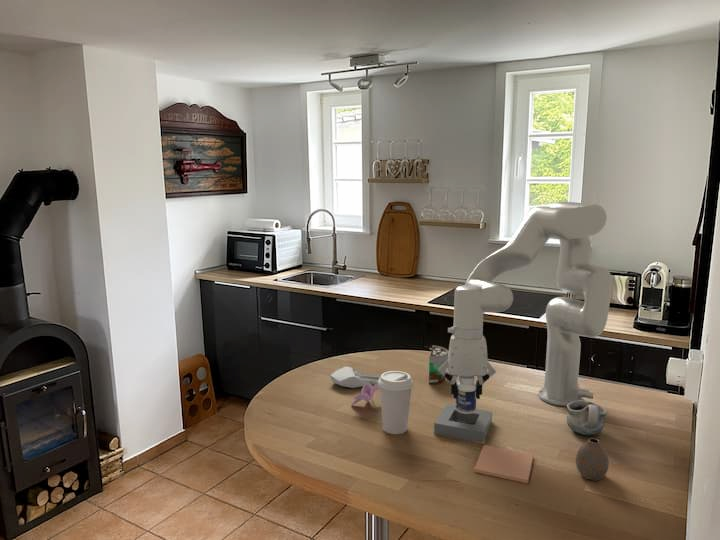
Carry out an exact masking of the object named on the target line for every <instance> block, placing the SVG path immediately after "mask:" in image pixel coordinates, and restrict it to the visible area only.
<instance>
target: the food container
mask: <svg viewBox="0 0 720 540" xmlns="http://www.w3.org/2000/svg"><path fill="white" fill-rule="evenodd" d="M448 351H449V350H448V349H447V348H445V347H443V346H439V345H431V352H430V356H429V357H428V359H429V360H428V365H429V366H428V385H431V386H432V385H439V384H440V385H441V384H443V383H445V380H446V378H445V376H443V375H442V374H441V373H440V372H439V367H440V366H441V365H442V364H443V363H444V362H445V361H446V360H447V359H448Z"/></svg>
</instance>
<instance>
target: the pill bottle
mask: <svg viewBox="0 0 720 540" xmlns="http://www.w3.org/2000/svg"><path fill="white" fill-rule="evenodd" d="M456 383H457V398H456V399H455V406H456V410H457V411H458V412H460V413H463V414H471V413H474V412H475V411H476V409H477V397H476V391H477V386H476V382H475V376H458V382H456Z"/></svg>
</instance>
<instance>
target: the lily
mask: <svg viewBox="0 0 720 540" xmlns="http://www.w3.org/2000/svg"><path fill="white" fill-rule="evenodd" d="M378 390H380V386H379V385H378V383H377V384H375V385H372V384H370V383H366V384H365V385H364V386H362V388H361V391H360V392H361V393H359V394H357V395H356V396H354V397H353V398H352V400H354V401H353V402H352V404H351V405H350V406H351V407H353V406H354V405H356V404H358V403H359V402H360V401H362V400H364V401H365V402H370V401H371V402H372V404H373V406H374V409H375V411H376V412H378V409H377V407H376V405H375V403H374V400H373V398H374V395H375V392H376V391H378Z"/></svg>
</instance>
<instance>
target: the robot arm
mask: <svg viewBox="0 0 720 540" xmlns="http://www.w3.org/2000/svg"><path fill="white" fill-rule="evenodd" d="M607 217H608V216H607V213H606V210H605V208H603V206H601V205H599V204H597V203H589V202H577V201H576V202H573V201H559V202H557V201H556V202H554V203H552V204H550V205H549V206H535V207H533V208H531V209H530V210H529V211H528V212H527V214H526V215H525V217H524V218H523V220H522V221H521V222H520V224H519V226H518V227H517V228H516V230H515V231H514V233H513V234H512V236H511V237H510V238H509V240H508V241H507V243H506V244H505V245H504V246H503V247H502V248H499V249H497V250H496V251H494V252H493V253H491V254H490V255H488V256H486V257H485V258H483V259H482V260H481V261H480V262H479V263H478V264H477V265H476V267H474V269H473V270H472V272H471V273H470V275H469V276H468V278H467V280H466V281H465V283H464V284H462V285H458V286H457V287H456V288H455V289H454V298H453V299H454V301H453V326H452V325H451V326H450V327H447V333H450V334H452V335H451V336H450V339H449V344H448V350H447V351H448V359H447V360H446V361H445V362H444V363H443V364H442V365H441V366H440V367H439V372H440V373H441V374H442V375H443V376H445V380H447V381H448V382H450V394H451V395H452V396H453V399H454V400H456V398H457V383H458V382H457V379H458V378H459V376H474V377H476V378H477V380H476V381H475V384H476V386H477V391H476V400H480V399H481V398H480V396H482V395H483V385H484V384H485V382H486V381H488V380H489V379H490V377H492V376H493V375H495V374H496V371H497V370H496V369H495V367H493V365H492V364H491V363H490V362H489V361H488V346H487V340H486V336H484V334H483V332H484V331H483V330H484V328H483V327H484V314H485V313H501V312H505V311H506V310H508V309H509V308H511V306H512V304H513V302H514V294H513V292H512V289H511V288H510V287H508V286H507V285H505V284H502V283H498V282H493V281H494V280H495V279H496V278H497V277H499V276H500V275H502V274H504V273H506V272H509V271H512V270H517V269H521V268H524V267H526V266H530V265H532V263H534V261H535V260H536V258H537V257H538V256H539V253H540V252H541V250H542V249H543V248H544V246H545V245H546V243H547V242H548V240H549V239H550V240H551V239H553V240H559V243H560V244H559V248H560V249H559V257H558V263H557V269H556V270H557V271H556V277H555V278H556V279H555V282H556V283H555V284H556V287H557V289H558V290H560V291H561V292H563V293H566V294H571V295H574V296H578V297H582V298H584V300H580V299H575V298H571V297H569V296H568V297H567V296H557V297H554V298H552V299H551V300H549V301H548V303H547V305H546V307H545V319H546V321H545V322H546V329H547V340H546V341H547V342H546V354H545V357H546V358H545V371H544V383H543V385H544V386H543V388H540V389H539V390H538V397H539V399H540V400H542V401H543V402H546V403H548V404H550V405H554V406H560V407H567V404H569V403H571V402H573V401H578V400H583V398H586V399H589V400H590V399H591V400H593V399H594V392H592V391H590V389H587V388H582V387H580V383H579V373H580V360H581V349H582V348H581V347H582V346H581V345H582V344H581V339H580V336H579V335H581V336H584V337H588V338H595V337H598V336H600V335H601V334H602V333H603V332H604V331H605V328H606V325H607V322H608V317H609V311H610V306H611V305H610V303H611V298H612V292H613V285H614V284H613V283H614V282H613V278H612V274H611V273H610V271H609V270H608V269H607V268H605V267H603V266H601V265H595V264H591V255H592V243H591V240H590V239H591V238H590V237H591V236H594V235H596V234H598V233H600V232H601V231H603V228H605V226H606V224H607V219H608V218H607Z"/></svg>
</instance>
